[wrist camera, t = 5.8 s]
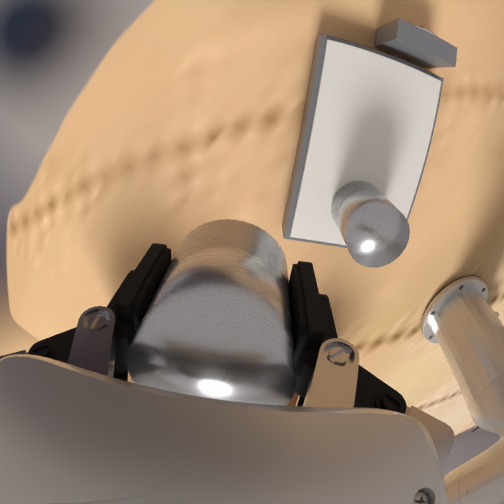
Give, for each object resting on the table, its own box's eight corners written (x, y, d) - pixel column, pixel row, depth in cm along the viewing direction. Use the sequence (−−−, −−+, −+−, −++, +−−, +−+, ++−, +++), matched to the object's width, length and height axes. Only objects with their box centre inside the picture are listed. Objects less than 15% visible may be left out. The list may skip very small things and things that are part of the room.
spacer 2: (388, 187, 23) (418, 214, 18) (373, 235, 26) (395, 270, 21) (338, 175, 23) (359, 200, 18) (325, 227, 26) (339, 263, 21)
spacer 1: (296, 227, 12) (316, 340, 6) (277, 318, 14) (278, 428, 9) (175, 213, 11) (109, 310, 6) (178, 305, 14) (142, 407, 9)
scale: (433, 49, 18) (461, 45, 14) (386, 243, 30) (402, 268, 25) (320, 8, 18) (332, -9, 13) (282, 226, 29) (285, 251, 25)
